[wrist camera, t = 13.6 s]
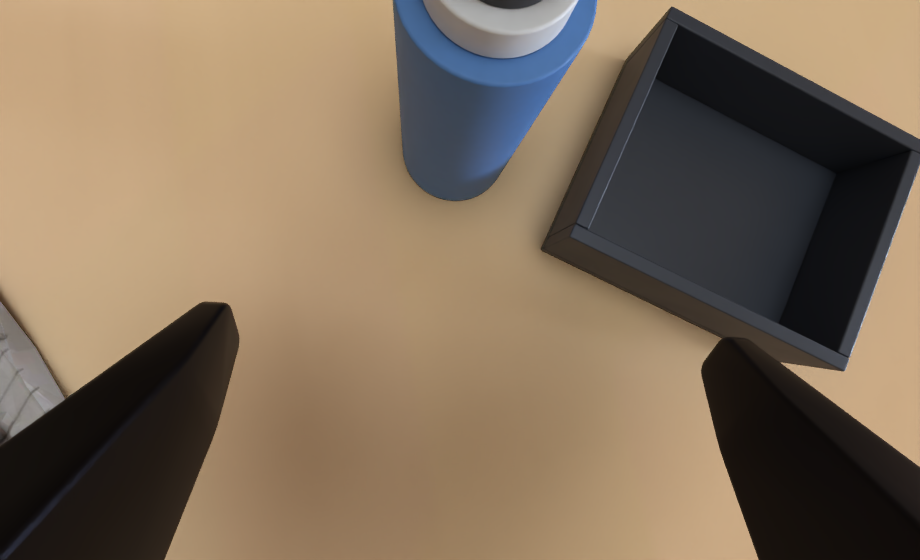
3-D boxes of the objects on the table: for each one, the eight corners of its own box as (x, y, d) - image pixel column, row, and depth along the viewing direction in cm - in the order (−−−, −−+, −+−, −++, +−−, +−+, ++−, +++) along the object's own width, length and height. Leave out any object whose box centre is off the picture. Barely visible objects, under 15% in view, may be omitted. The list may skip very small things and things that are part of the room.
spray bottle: (501, 205, 21) (665, 13, 7) (398, 195, 21) (370, -30, 7) (507, 107, 22) (676, -254, 8) (406, 95, 21) (395, -311, 7)
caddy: (768, 360, 22) (845, 372, 18) (540, 250, 21) (569, 236, 17) (841, 171, 23) (928, 143, 19) (626, 58, 22) (671, 5, 18)
